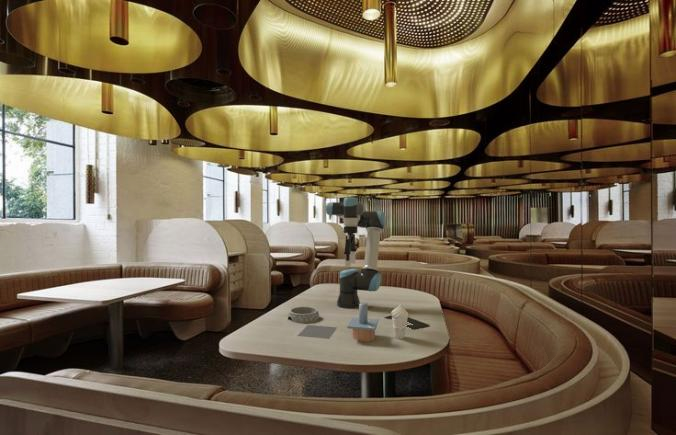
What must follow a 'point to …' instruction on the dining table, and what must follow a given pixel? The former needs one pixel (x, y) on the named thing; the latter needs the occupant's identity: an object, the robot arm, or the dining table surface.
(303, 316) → the dog bowl
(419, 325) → the black flat irregular plate
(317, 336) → the mat
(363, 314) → the lid
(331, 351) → the dining table surface
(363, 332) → the bowl
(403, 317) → the soft serve ice cream cone
